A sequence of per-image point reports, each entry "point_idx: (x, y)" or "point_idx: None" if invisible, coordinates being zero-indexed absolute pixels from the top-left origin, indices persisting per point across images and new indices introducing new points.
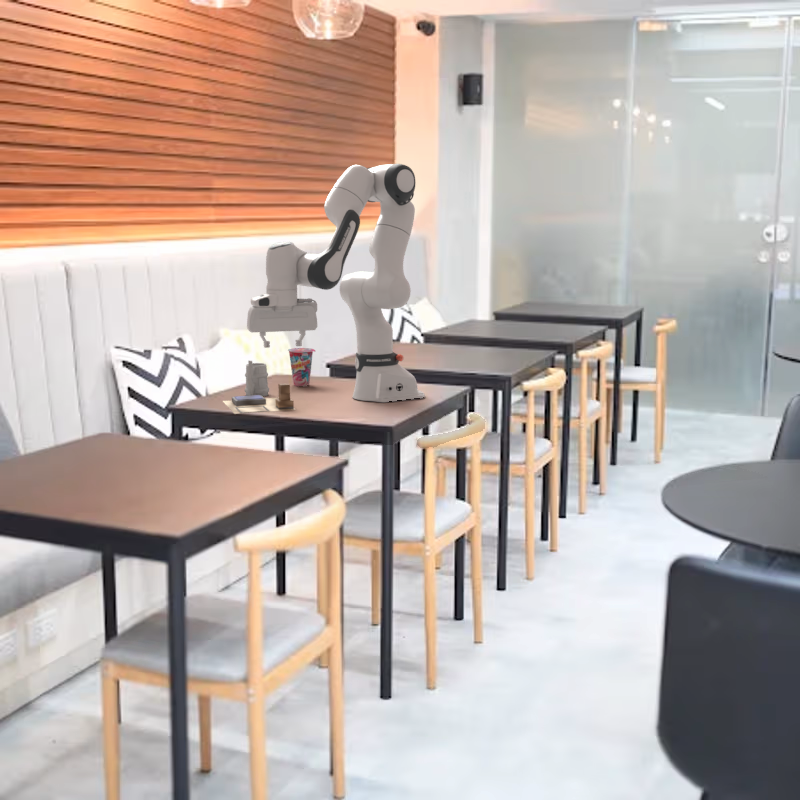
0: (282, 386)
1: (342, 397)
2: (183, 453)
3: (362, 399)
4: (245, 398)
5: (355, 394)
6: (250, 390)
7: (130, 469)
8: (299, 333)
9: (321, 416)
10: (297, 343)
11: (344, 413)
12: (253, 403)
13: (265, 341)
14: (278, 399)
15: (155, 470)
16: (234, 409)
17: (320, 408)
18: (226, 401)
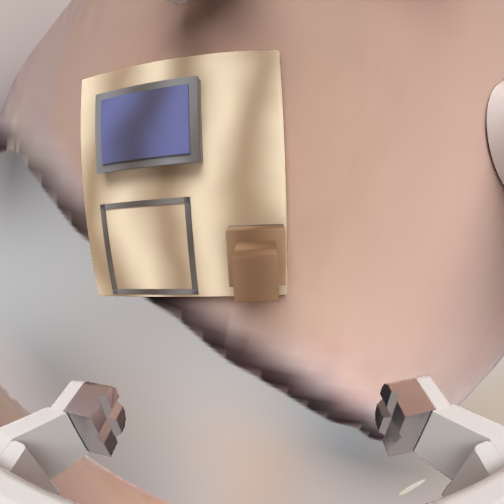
0: (243, 299)
1: (465, 89)
2: (82, 476)
3: (499, 172)
4: (128, 143)
5: (497, 138)
6: (175, 2)
7: (57, 487)
8: (470, 455)
9: (341, 351)
10: (385, 435)
11: (408, 327)
12: (157, 166)
13: (77, 451)
14: (234, 248)
15: (79, 499)
16: (97, 231)
17: (378, 236)
18: (90, 89)
